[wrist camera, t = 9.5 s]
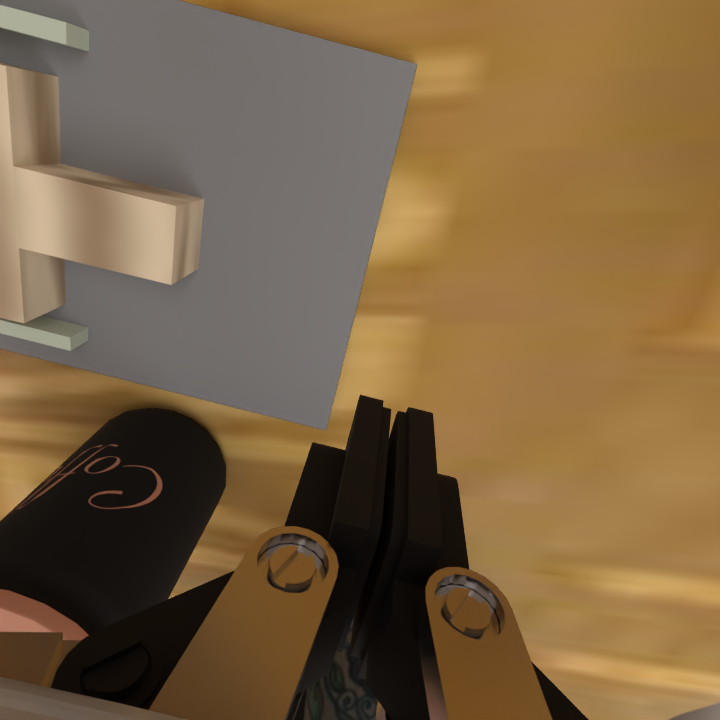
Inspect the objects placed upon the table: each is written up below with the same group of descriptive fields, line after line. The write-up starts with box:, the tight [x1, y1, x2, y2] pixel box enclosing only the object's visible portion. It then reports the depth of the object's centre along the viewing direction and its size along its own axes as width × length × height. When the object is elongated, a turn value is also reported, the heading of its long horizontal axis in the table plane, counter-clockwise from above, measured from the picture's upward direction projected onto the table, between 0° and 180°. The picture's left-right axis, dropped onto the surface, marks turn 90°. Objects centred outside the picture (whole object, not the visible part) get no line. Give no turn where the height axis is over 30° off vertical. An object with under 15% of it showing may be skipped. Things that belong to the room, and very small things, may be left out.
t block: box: [0, 62, 204, 323], centre depth 29 cm, size 14×14×4 cm
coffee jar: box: [0, 408, 226, 640], centre depth 31 cm, size 11×11×18 cm
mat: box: [0, 0, 417, 430], centre depth 30 cm, size 26×24×3 cm
